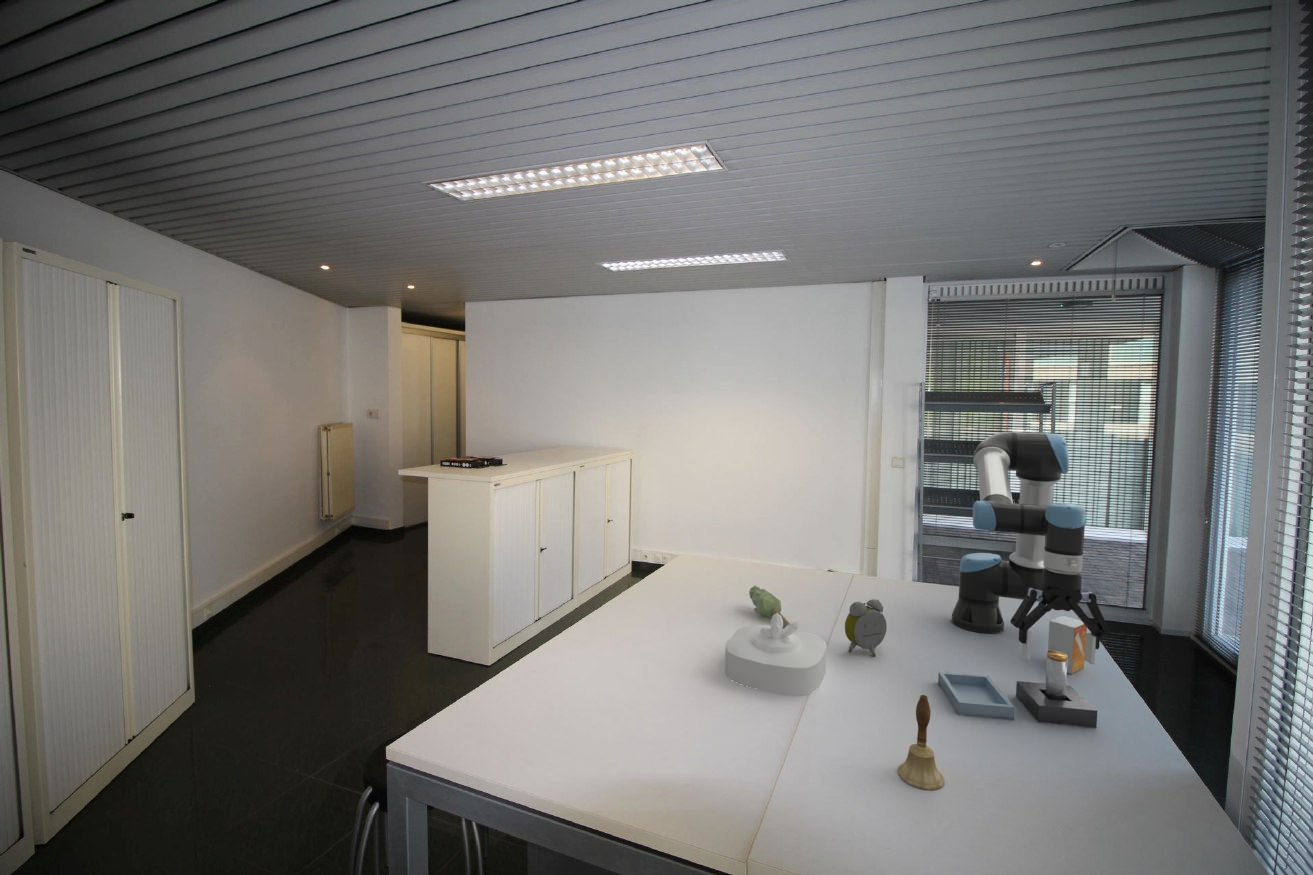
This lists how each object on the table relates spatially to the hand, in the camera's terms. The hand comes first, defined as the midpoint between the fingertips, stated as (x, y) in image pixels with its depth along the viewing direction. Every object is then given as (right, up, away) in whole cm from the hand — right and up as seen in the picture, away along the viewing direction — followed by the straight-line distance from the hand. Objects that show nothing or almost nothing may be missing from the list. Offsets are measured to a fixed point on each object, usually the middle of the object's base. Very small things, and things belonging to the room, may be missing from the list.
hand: (1057, 659), depth 140 cm
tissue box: (-62, -11, +21) cm, 66 cm away
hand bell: (-43, -14, -24) cm, 51 cm away
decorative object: (-56, -9, +60) cm, 82 cm away
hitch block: (0, -13, +1) cm, 13 cm away
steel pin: (0, -13, +1) cm, 13 cm away
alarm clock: (-33, -11, +33) cm, 48 cm away
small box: (+19, -12, +25) cm, 34 cm away
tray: (-17, -12, +6) cm, 21 cm away
